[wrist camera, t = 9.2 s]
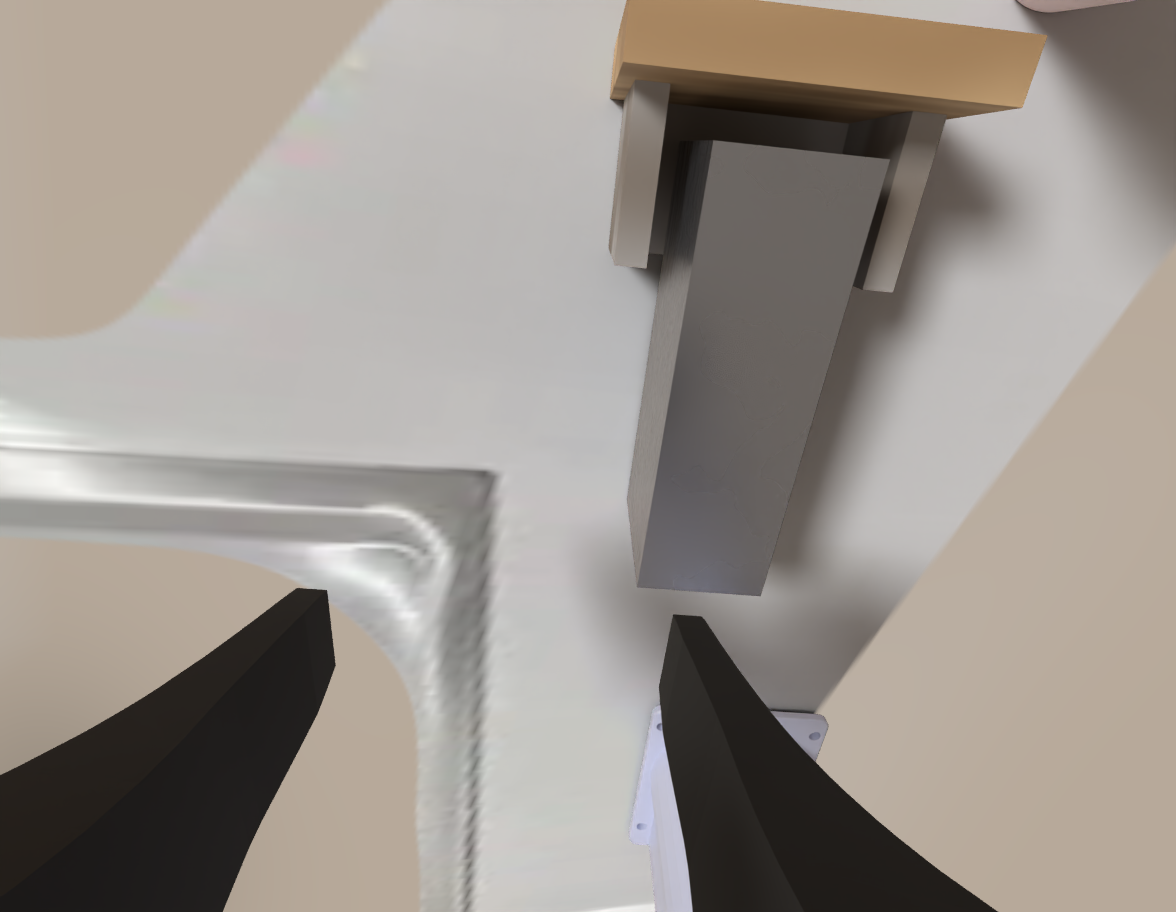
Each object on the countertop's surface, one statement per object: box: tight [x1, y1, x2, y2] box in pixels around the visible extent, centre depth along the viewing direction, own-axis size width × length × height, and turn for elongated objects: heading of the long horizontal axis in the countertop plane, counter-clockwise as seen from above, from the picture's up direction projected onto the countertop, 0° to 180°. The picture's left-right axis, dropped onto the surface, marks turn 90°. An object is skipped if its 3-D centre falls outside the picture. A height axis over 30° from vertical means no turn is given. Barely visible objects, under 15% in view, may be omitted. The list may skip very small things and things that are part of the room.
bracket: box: [609, 0, 1048, 293], centre depth 15 cm, size 5×8×6 cm, turn 85°
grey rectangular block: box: [627, 140, 890, 596], centre depth 18 cm, size 12×4×5 cm, turn 175°
